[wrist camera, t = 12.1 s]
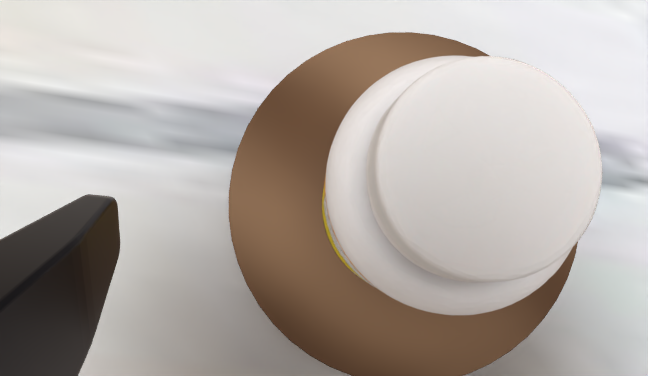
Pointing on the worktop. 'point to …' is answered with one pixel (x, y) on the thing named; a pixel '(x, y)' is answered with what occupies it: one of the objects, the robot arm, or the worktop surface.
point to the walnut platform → (313, 244)
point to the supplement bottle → (461, 183)
